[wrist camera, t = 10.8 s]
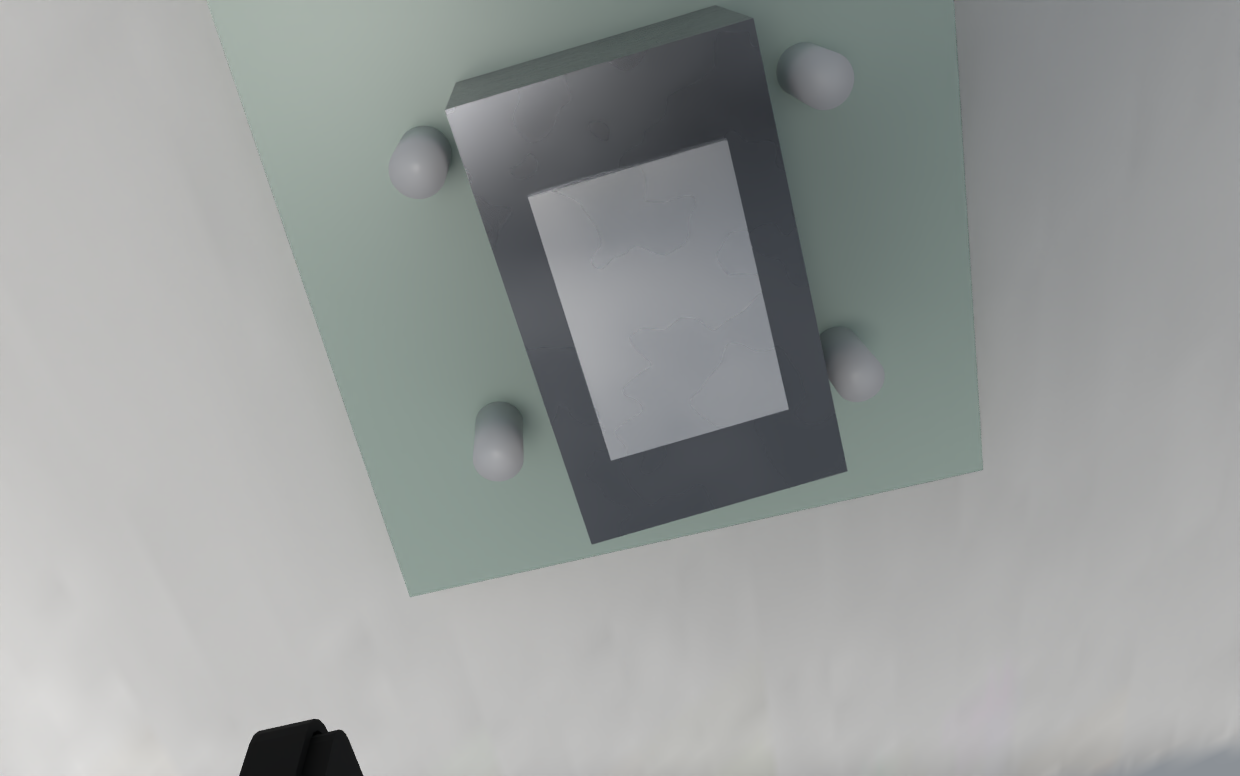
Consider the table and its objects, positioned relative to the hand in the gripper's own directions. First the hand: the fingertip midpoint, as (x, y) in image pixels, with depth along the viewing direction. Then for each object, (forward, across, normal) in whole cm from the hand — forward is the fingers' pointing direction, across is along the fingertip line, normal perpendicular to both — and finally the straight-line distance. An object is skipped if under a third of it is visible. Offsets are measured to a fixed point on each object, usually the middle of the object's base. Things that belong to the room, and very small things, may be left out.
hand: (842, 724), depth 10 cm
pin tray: (+18, 0, 0) cm, 18 cm away
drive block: (+17, 0, 0) cm, 17 cm away
